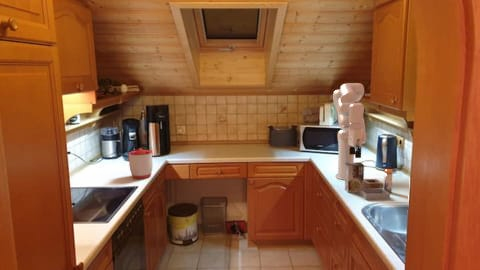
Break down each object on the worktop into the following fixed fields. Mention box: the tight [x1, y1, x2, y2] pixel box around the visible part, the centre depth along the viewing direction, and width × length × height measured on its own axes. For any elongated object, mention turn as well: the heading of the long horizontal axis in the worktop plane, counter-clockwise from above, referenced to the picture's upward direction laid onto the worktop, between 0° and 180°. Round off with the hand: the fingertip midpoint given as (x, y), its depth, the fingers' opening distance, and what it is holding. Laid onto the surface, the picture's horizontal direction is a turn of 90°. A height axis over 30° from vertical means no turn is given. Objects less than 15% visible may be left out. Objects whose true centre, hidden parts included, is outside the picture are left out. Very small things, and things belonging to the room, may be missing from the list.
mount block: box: [363, 178, 384, 189], centre depth 219 cm, size 9×9×5 cm
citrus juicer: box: [125, 147, 153, 179], centre depth 254 cm, size 16×17×20 cm
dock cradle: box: [358, 187, 391, 201], centre depth 206 cm, size 10×13×3 cm
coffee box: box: [344, 161, 365, 194], centre depth 216 cm, size 9×6×16 cm
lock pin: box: [383, 168, 393, 194], centre depth 212 cm, size 4×4×13 cm
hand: (355, 156), depth 214 cm, fingers open, 9 cm apart
